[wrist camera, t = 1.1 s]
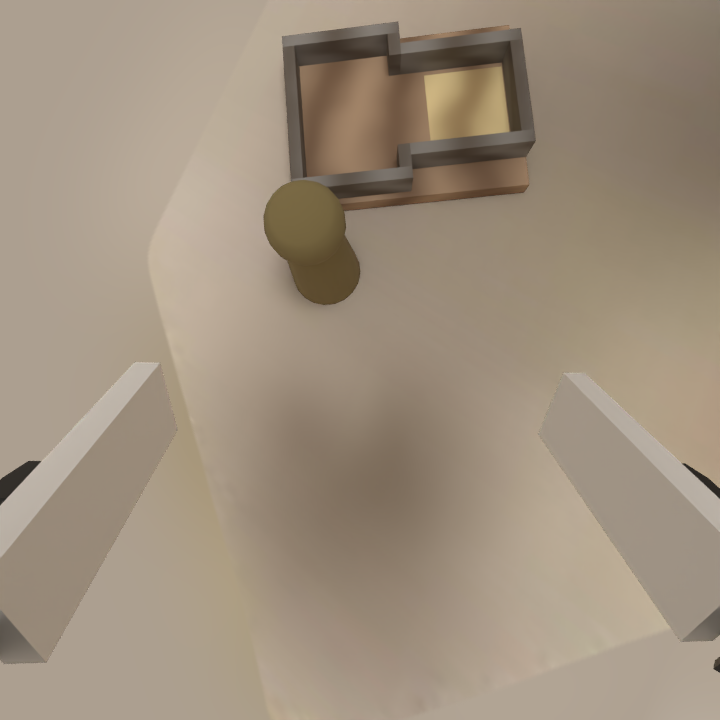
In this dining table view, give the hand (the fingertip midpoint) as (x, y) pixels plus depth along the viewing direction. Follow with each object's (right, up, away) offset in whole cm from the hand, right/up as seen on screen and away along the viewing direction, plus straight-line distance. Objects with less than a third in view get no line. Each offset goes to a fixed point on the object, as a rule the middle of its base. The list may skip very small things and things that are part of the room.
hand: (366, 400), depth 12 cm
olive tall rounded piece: (-3, +9, +20) cm, 23 cm away
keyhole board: (+4, +23, +21) cm, 31 cm away
